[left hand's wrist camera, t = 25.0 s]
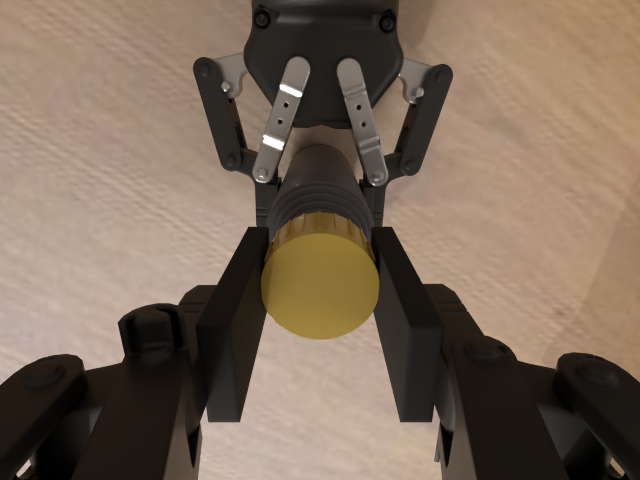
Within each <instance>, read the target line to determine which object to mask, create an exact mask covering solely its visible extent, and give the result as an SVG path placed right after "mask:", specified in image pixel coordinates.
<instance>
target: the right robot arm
mask: <svg viewBox="0 0 640 480" xmlns="http://www.w3.org/2000/svg"><path fill="white" fill-rule="evenodd" d="M398 6H399V0H252V29H251V33H250V36H249V39H248V41H247V43H246V45H245V48H244V52H243V53H239V54H235V55H230V56H226V57H222V58H217V59H211V58H206V57H201V58H199V59H197V60H196V61H195V63H194V66H193V71H194V75H195V78H196V82H197V85H198V89H199V92H200V95H201V99H202V102H203V105H204V109H205V112H206V115H207V119H208V122H209V125H210V129H211V132H212V136H213V139H214V142H215V146H216V149H217V152H218V156H219V159H220V162H221V165H222V166H223V168H224V169H226V170H228V171H238V172H240V173H243V174H246V175H248V176H249V177H250V178H251V179H252V180H253V181H254V184H255V197H256V225H257V227H266V222H267V218H268V215H269V213H270V210H271V208H272V206H273V203H274V201H275V199H276V196H277V194H278V192H279V189H280V187H281V185H282V178H281V177H278V165H279V163H280V160H281V157H282V154H283V152H284V149H285V146H286V144H287V141H288V139H289V136H290V133H291V131H292V128H293V126H294V127H295V128H309V127H313V126H317V125H326V126H329V127H332V128H335V129H350V130H351V134H352V137H353V140H354V143H355V146H356V149H357V152H358V156H359V159H360V162H361V166H362V169H363V179H359V187H360V189H361V192H362V194H363V196H364V199H365V201H366V203H367V206H368V208H369V210H370V213H371V215H372V218H373V222H374V227H382V222H383V211H384V200H385V190H386V187H387V185H388V183H389V182H390V181H391V180H393V179H395V178H399V177H402V176H405V175H407V176H412V175H415V174H416V173H417V172H418V171H419V170H420V167H421V165H422V162H423V159H424V156H425V154H426V151H427V148H428V145H429V143H430V140H431V137H432V134H433V131H434V129H435V126H436V123H437V120H438V118H439V115H440V112H441V109H442V106H443V104H444V101H445V98H446V95H447V93H448V90H449V87H450V84H451V82H452V78H453V72H452V69H451V68H450V67H449V66H448V65H445V64H440V65H436V66H430V65H427V64H424V63H420V62H417V61H414V60H410V59H407V58H404V55H403V51H402V48H401V46H400V43H399V40H398V36H397V17H398ZM248 72H249V73H250V75H251V76H252V77H253V79H254V80H255V82H256V83H257V85H258V86H259V88H260V89H261V91H262V92H263V93H264V95H265V96H266V98H267V99H268V101H269V102H270V104H271V105H272V107H273V108H272V111H271V114H270V117H269V120H268V123H267V126H266V129H265V132H264V135H263V140H262V143H261V146H260V149H259V152H255V151H253V150H250V149H248V148H247V144H246V141H245V137H244V133H243V129H242V126H241V122H240V118H239V115H238V111H237V107H236V103H235V100H234V98H237V97H238V96H239V95H240V94H241V92H242V79H243V77H244V76H245V74H247V73H248ZM397 77H398V78H399V79H400V80H401V81H402V83H403V92H402V95H403V98H404V100H405V101H406V102H407V103H410V105H409V108H408V111H407V114H406V117H405V120H404V123H403V126H402V129H401V132H400V135H399V138H398V141H397V144H396V147H395V150H394V153H391V154H388V155H385V156H383V153H382V149H381V146H380V139H379V135H378V131H377V127H376V124H375V120H374V117H373V113H372V109H373V107H374V106H375V105H376V104H377V102H378V101H379V100H380V98H381V97H382V96H383V95H384V93H385V92H386V91H387V89H388V88H389V87H390V86H391V84H392V83H393V82H394V80H395V79H396V78H397Z"/></svg>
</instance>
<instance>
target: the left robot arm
mask: <svg viewBox="0 0 640 480" xmlns="http://www.w3.org/2000/svg"><path fill="white" fill-rule="evenodd" d="M269 244H270V243H269V227H248V229H247V231H246V233H245V234H244V236H243V238H242V240H241V242H240V244H239V245H238V247H237V249H236V251H235V253H234V255H233V257H232V258H231V260H230V262H229V264H228V266H227V268H226V270H225V271H224V273H223V275H222V277H221V279H220V281H219V282H218V284H217V285H197V286H196V287H194V288H193V289H191V290H190V291H188V292H187V293H185V295H184V296H183V298H182V299H181V301H180V302H179V305H173V304H170V303H157V304H152V305H146V306H143V307H140V308H137V309H135V310H133V311H131V312H129V313H128V314H126V315H124V316H123V317H122V318H121V319H120V321H119V322H118V326H119V331H120V335H121V340H122V344H123V349H124V353H125V357H124V359H123V361H122V363H118V364H114V365H110V366H106V367H101V368H96V369H91V370H86V371H85V368H84V364H83V361H82V360H81V359H80V358H79V357H78V356H75V355H70V354H62V355H53V356H48V357H44V358H41V359H38V360H37V361H35V362H32V363H30V364H28V365H26V366H24V367H23V368H21V369H20V370H18V371H17V372H16V373H14V374H13V375H12V376H10V377H9V378H8V379H7V380H6V381H5V382H3V383H2V384H1V385H0V480H198V473H199V463H200V454H201V445H202V432H201V425H200V420H201V418H202V415H203V412H204V410H205V407H206V408H207V416H208V422H240V419H241V415H242V411H243V407H244V403H245V399H246V395H247V391H248V387H249V383H250V379H251V374H252V370H253V366H254V362H255V358H256V354H257V350H258V346H259V342H260V338H261V334H262V330H263V325H264V321H265V317H266V313H267V310H266V308H265V306H264V304H263V301H262V291H261V274H262V271H263V268H264V264H265V262H264V259H265V256H266V253H267V250H268V247H269ZM371 247H372V250H373V253H374V256H375V259H376V261H375V264H376V267H377V270H378V274H379V295H378V302H377V304H376V307H375V308H374V310H373V312H374V316H375V320H376V324H377V329H378V333H379V337H380V341H381V345H382V349H383V353H384V357H385V361H386V365H387V369H388V373H389V378H390V382H391V386H392V390H393V394H394V398H395V402H396V406H397V410H398V414H399V418H400V422H432V417H433V410H434V404H435V407H436V410H437V412H438V415H439V418H440V425H439V432H438V439H437V445H436V452H435V459H434V461H435V462H439V460H440V463H441V472H442V480H640V382H638V381H637V380H636V379H635V378H634V377H633V376H631V375H630V374H629V373H628V372H626V371H625V370H624V369H622V368H621V367H619V366H618V365H616V364H614V363H612V362H610V361H608V360H606V359H604V358H602V357H599V356H596V355H595V356H594V355H592V354H587V353H575V352H573V353H567V354H563V355H562V356H561V357H560V358H559V359H558V362H557V366H556V369H553V368H548V367H543V366H538V365H533V364H528V363H525V362H521V361H518V360H517V358H516V356H515V354H514V353H513V352H512V350H511V349H510V348H509V347H508V346H507V345H505V344H504V343H502V342H501V341H499V340H496V339H494V338H492V337H489V336H485V335H484V334H483V333H482V331H481V330H480V328H479V327H478V325H477V324H476V322H475V321H474V319H473V318H472V316H471V315H470V314H469V312H467V309H466V308H465V306H464V305H463V304H462V303H461V300H460V299H459V297H458V296H457V294H456V293H455V292H454V291H452V290H451V289H449V288H448V287H446V286H445V285H443V284H422V282H421V280H420V278H419V276H418V275H417V273H416V271H415V269H414V267H413V265H412V263H411V262H410V260H409V258H408V256H407V254H406V252H405V251H404V249H403V247H402V245H401V243H400V241H399V239H398V238H397V236H396V234H395V232H394V230H393V228H392V227H372V228H371ZM612 457H613V459H614V460H615V461H616V462H617V463H618V464H619V466H620V467H621V468H622V469H623V470H624V471H625V473H624V475H623V476H621V475H620V474H619V473H618V472H617V471H616V470H615V469H614V468H613V466H612V465H611V464H610V461H611V459H612ZM28 459H29V460H30V463H31V465H30V466H29V468H28V469H27V470H26V471H25V472H24V473H23V474H22V475H21V476H20V477H19V478H18V477H17V475H16V474H17V472H18V471H19V470H20V469H21V468H22V466H23V465H24V464H25V463H26V462H27V461H28Z"/></svg>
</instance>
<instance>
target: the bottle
mask: <svg viewBox="0 0 640 480" xmlns="http://www.w3.org/2000/svg"><path fill="white" fill-rule="evenodd" d="M318 211H321V212H325V213H332V214H334V213H336V214H337V215H339V216H341V217H344V218H346V219H347V220H349V219H350V220H351V222H352V223H353V224H355V225H356V226H357V227H358V228H359V229H362V231H363V234H364V235H365V237H366V239H367V241H369V242H370V244H371V228H372V227H374V222H373V218H372V215H371V213H370V210H369V208H368V206H367V203H366V201H365V199H364V196H363V194H362V192H361V189H360V187H359V185H358V182H357V180H356V178H355V175H354V173H353V171H352V168H351V166H350V164H349V162H348V160H347V158H346V157H345V156H344V155H343V154H342V153H341V152H340V151H339V150H337V149H336V148H334V147H331V146H328V145H323V144H318V145H312V146H309V147H306V148H304V149H303V150H301V151H300V152H299V153H298V154H297V155H296V156H295V157H294V158H293V160H292V162H291V164H290V166H289V168H288V171H287V173H286V175H285V178H284V180H283V182H282V185H281V187H280V189H279V192H278V194H277V196H276V199H275V201H274V203H273V206H272V208H271V210H270V213H269V215H268V218H267V222H266V227H269V243H270V242H272V241H273V239H274V237H275V236H276V234H277V231H278V229H279V230H280V229H281V228H282V227H283V226H284V225H285V224H287V223H288V221H289V220H293V219H295V218H296V217H299V216H302V215H303V214H304V213H305V214H309V213H316V212H318Z"/></svg>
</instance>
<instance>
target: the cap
mask: <svg viewBox="0 0 640 480" xmlns="http://www.w3.org/2000/svg"><path fill="white" fill-rule="evenodd" d="M375 261H376V259H375V256H374V253H373V250H372V247H371V244H370V242H369V241H367V239H366V237H365V235H364V234H363V231H362V229H359V228H358V227H357V226H356V225H355V224H353V223H352V222H351V220H350V219H349V220H347V219H346V218H344V217H341V216H339V215H337V214H336V213H334V214H332V213H325V212H321V211H318V212H316V213H309V214H305V213H304V214H303V215H302V216H299V217H296V218H295V219H293V220H289V221H288V223H287V224H285V225H284V226H283V227H282V228H281V229H280V230H279V229H278V231H277V234H276V236H275V237H274V239H273V241H272V242H270V244H269V247H268V250H267V253H266V256H265V259H264V262H265V264H264V268H263V271H262V274H261V291H262V301H263V304H264V306H265V308H266V310H267V312H268V313H269V315H270V316H271V318H272V319H273V320H274V321H275V322H276V323H277V324H278V325H279V326H281V327H282V328H283V329H285V330H287V331H288V332H290V333H292V334H294V335H297V336H300V337H303V338H308V339H315V340H324V339H332V338H337V337H340V336H343V335H346V334H348V333H350V332H352V331H353V330H355V329H357V328H358V327H359V326H361V325H362V324H363V323H364V322H365V321H366V320H367V319H368V318H369V316H370V315H371V314H372V312H373V310H374V308H375V307H376V304H377V302H378V295H379V274H378V270H377V267H376V264H375Z"/></svg>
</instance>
